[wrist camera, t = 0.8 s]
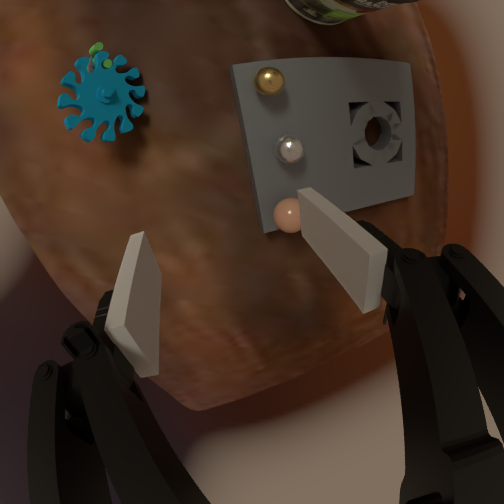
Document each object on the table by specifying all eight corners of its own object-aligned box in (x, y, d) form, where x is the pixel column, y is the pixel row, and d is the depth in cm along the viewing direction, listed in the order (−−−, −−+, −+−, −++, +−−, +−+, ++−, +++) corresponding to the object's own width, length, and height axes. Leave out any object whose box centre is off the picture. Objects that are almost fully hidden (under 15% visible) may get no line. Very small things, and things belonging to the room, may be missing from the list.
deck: (259, 224, 36) (264, 233, 34) (228, 68, 25) (232, 64, 23) (403, 189, 38) (413, 195, 36) (398, 63, 28) (409, 63, 26)
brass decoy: (247, 70, 24) (254, 66, 21) (276, 67, 24) (287, 63, 22) (252, 98, 26) (260, 98, 23) (281, 94, 26) (292, 93, 23)
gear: (153, 133, 26) (66, 151, 18) (125, 141, 29) (50, 160, 22) (145, 41, 21) (61, 41, 14) (117, 60, 25) (43, 66, 17)
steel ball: (268, 135, 28) (277, 138, 25) (296, 130, 28) (307, 133, 26) (273, 162, 30) (282, 169, 27) (299, 157, 30) (311, 163, 27)
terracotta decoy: (266, 197, 32) (277, 210, 28) (298, 189, 32) (312, 201, 29) (271, 227, 34) (281, 243, 30) (301, 219, 34) (315, 234, 31)
